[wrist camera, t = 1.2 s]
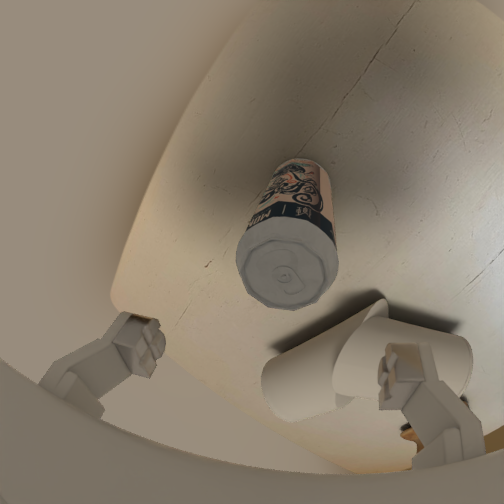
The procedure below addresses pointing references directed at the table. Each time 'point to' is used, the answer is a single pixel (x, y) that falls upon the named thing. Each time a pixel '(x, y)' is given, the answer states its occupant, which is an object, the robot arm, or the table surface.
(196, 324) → the table surface
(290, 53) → the table surface
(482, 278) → the table surface
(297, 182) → the beer can
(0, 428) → the robot arm
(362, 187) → the table surface
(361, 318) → the l-shaped cylinder
